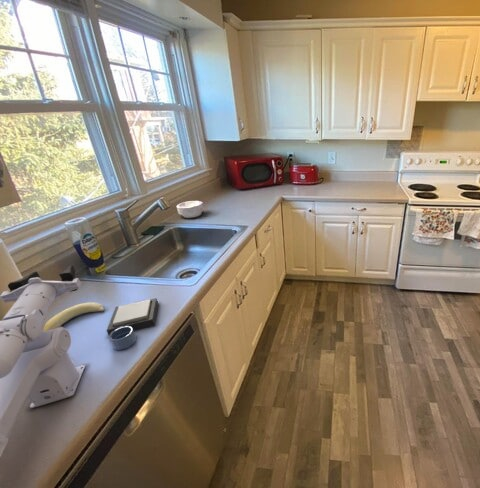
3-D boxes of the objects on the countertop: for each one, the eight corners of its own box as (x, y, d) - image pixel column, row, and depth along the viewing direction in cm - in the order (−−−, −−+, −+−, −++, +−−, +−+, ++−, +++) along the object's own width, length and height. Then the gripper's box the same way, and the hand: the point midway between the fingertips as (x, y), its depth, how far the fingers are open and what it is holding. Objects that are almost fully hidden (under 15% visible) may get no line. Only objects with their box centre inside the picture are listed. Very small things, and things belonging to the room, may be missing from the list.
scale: (154, 325, 87) (152, 319, 86) (109, 337, 83) (106, 330, 82) (158, 303, 97) (156, 297, 96) (117, 312, 93) (115, 306, 92)
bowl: (135, 347, 79) (130, 336, 78) (111, 353, 77) (106, 342, 76) (138, 334, 84) (134, 323, 82) (116, 339, 82) (111, 329, 80)
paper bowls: (180, 213, 183) (178, 201, 179) (205, 210, 187) (203, 199, 183) (177, 221, 170) (174, 208, 166) (204, 218, 174) (201, 206, 170)
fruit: (40, 328, 87) (35, 320, 85) (97, 303, 98) (93, 295, 96) (47, 338, 83) (42, 329, 81) (105, 310, 94) (102, 302, 93)
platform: (148, 318, 87) (146, 315, 87) (113, 327, 84) (112, 323, 83) (151, 302, 95) (150, 299, 94) (120, 309, 91) (118, 306, 91)
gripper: (64, 282, 65) (81, 253, 76) (-20, 298, 60) (11, 264, 71) (77, 305, 69) (92, 274, 79) (-1, 322, 64) (26, 286, 74)
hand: (55, 271), depth 75 cm, fingers open, 7 cm apart
